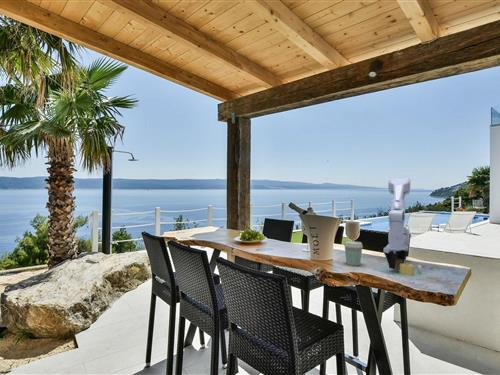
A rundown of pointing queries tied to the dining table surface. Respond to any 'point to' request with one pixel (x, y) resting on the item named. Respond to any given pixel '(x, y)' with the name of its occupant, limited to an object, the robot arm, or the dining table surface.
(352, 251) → the coffee cup
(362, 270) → the dining table surface
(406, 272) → the pale yellow block
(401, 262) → the gear
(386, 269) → the gear board
